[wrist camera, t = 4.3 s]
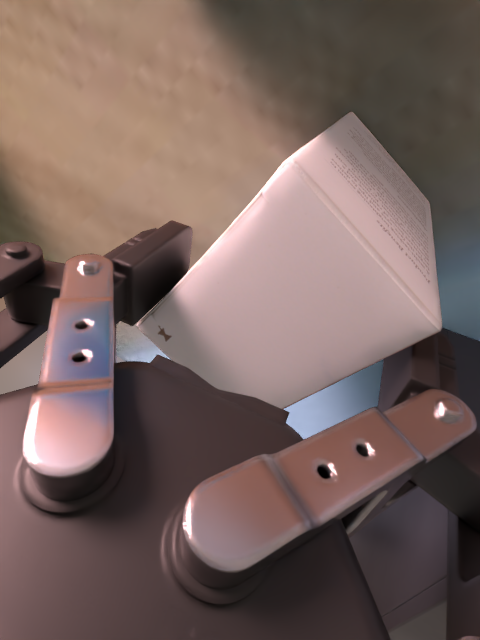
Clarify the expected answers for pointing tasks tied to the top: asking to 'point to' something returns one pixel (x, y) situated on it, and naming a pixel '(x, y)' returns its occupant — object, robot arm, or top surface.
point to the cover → (416, 538)
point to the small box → (309, 276)
